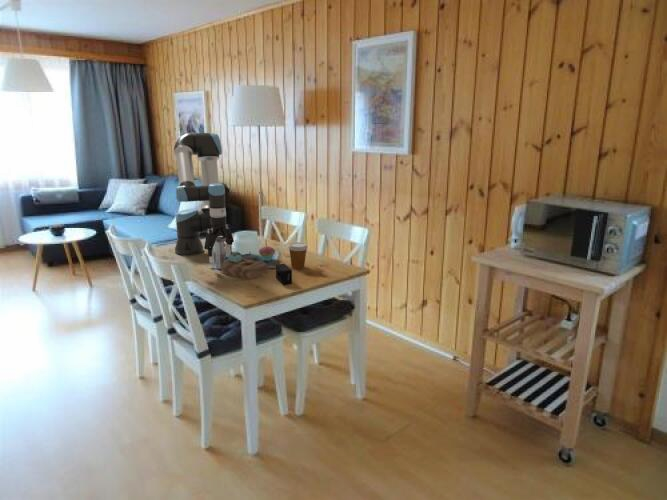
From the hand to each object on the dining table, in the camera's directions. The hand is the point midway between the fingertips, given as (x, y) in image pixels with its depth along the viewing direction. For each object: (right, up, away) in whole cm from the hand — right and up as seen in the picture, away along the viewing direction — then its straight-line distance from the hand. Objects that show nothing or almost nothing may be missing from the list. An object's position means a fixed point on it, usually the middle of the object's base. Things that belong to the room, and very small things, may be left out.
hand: (220, 259), depth 228 cm
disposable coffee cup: (+38, -4, +5) cm, 39 cm away
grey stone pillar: (0, -4, +1) cm, 4 cm away
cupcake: (+21, -1, +16) cm, 26 cm away
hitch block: (+13, -6, -5) cm, 16 cm away
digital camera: (+33, -10, -15) cm, 37 cm away
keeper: (+8, 0, -4) cm, 9 cm away
